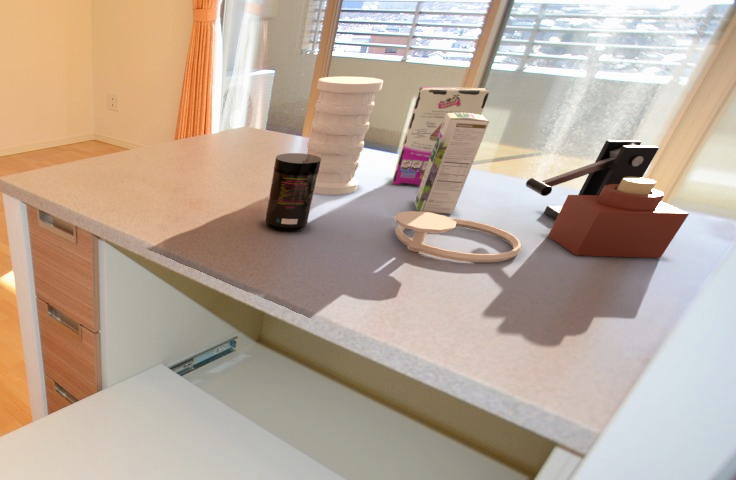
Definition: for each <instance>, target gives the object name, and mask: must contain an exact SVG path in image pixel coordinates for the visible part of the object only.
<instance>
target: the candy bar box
mask: <svg viewBox="0 0 736 480" xmlns="http://www.w3.org/2000/svg"><path fill="white" fill-rule="evenodd" d="M489 94H490V91H489V89H488V88H487V87H486V88H485V87H484V88H483V87H441V86H440V87H439V86H438V87H435V86H433V87H429V86H428V87H427V86H425V87H424V86H421V87H419V88H418V91H417V95H416V98H415V101H414V105H413V108H412V112H411V115H410V118H409V121H408V125H407V129H406V132H405V135H404V139H403V142H402V145H401V149H400V152H399V155H398V158H397V162H396V166H395V170H394V172H393V177H392V185H394V186H405V187H418V188H419V187H420V184H421V181H422V178H423V176H424V173H425V170H426V167H427V164H428V162H429V159H430V156H431V153H432V151H433V148H434V145H435V142H436V140H437V137H438V134H439V132H440V129H441V126H442V123H443V120H444V117H445V115H446V113H472V114H478V115H483V111H484V108H485V105H486V103H487V101H488V99H489V98H488V97H489Z"/></svg>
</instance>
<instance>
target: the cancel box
mask: <svg viewBox="0 0 736 480" xmlns="http://www.w3.org/2000/svg"><path fill="white" fill-rule="evenodd" d="M618 186H619V184H610V185H605V186H604V188H603V190H602V191H601V193H600V195H578V194H568V195H567V197H566V199H565V200H564V203H563V205H562V206H563V207H562V209H561V211H560V212H559V214H558V216H557V218H556V220H554V222H553V224H552V227H551V228H550V230H549V232H548V234H547V237H548V238H550V239H551V240H552V241H554V242H555V243H557V244H558V245H560V246H561V247H562V248H564V249H565V250H567V251H568V252H569V253H571V254H573V255H574V256H581V257H583V256H585V257H586V256H587V257H612V258H613V257H614V258H615V257H616V258H643V259H661V258H662V256H663V255H664V253H665V251H666V250H667V248H668V247H669V245H670V244H671V243H672V241H673V240H674V238H675V236H676V235H677V233H678V232H679V230H680V229H681V227H682V226H683V224H684V222H685V221H686V220H687V218H688V216H689V215H690V213H689V212H686V211H684V210H681V209H679V208H678V207H675V206H673V205H671V204H668V203H666V202H664V201H662V200H663V198H664V197H665V194H664V191H662V190H658V189H656V188H653V189H652V191H651V192H650V194H649V195H638V194H631V193H625V192H621V191H618V190H617V188H618Z"/></svg>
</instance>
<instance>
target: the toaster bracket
mask: <svg viewBox="0 0 736 480" xmlns="http://www.w3.org/2000/svg"><path fill="white" fill-rule="evenodd" d="M632 143H633V144H636V145H639V146H627V145H629V144H632ZM641 144H642V141H640V140H637V139H636V140H635V139H633V140H632V139H627V140H626V139H620V140H618V139H617V140H616V139H606V140H605V142H604V144H603V146H602V148H601V150H600V152H599V153H598V155H597V157H596V160H595V161H594V163H596V162H598V161H601V160H604V159H607V158H610V151H612V150H615V149H618V148H621V147H622V148H621V149H620V151H619V153H618V155H617V157H616V159H615V161H614V162H613V164H612V166H611V167H607V168H604V169H601V170H599V171H596V172H593V173H590V174H587V176H586V179H585V181H584V182H583V185H582V187H581V188H580V190H579V193H578V194H577V195H600V193H601V191H602V190H603V188H604V186H605V185H610V184H620V183H621V181H622V179H623V178H624V177H641V178H644V175H645V174H646V171H648V168H649V166H650V165H651V163H652V162H653V159H654V158H655V156H656V154H657V153H658V151H659V149H660V147H658V146H656V145H641ZM562 207H563V205H547V206H546V207H545V209H544V211H543V214H544V215H546V216H548V217H549V218H551V219H553V220H554V221H555V220H556V218H557V216H558V214H559V212H560V211H561V209H562Z"/></svg>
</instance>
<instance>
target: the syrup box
mask: <svg viewBox="0 0 736 480" xmlns="http://www.w3.org/2000/svg"><path fill="white" fill-rule="evenodd" d="M489 123H490V120H488V119H487V118H486V117H485V116H484V115H483V114H481V115H478V114H472V113H446V115H445V117H444V120H443V123H442V126H441V129H440V132H439V134H438V137H437V140H436V142H435V145H434V148H433V151H432V153H431V156H430V159H429V162H428V164H427V167H426V170H425V173H424V176H423V178H422V181H421V184H420V187H418V190H417V192H416V196H415V199H414V205H415V208H416V211H418V212H430V213H435V214H450V215H451V214H454V211H455V209H456V207H457V203H458V201H459V198H460V196H461V193H462V191H463V189H464V186H465V184H466V181H467V180H468V179H467V178H468V176H469V173H470V171H471V169H472V167H473V164H474V161H475V158H476V156H477V154H478V151H479V149H480V146H481V144H482V142H483V139H484V136H485V134H486V132H487V129H488V126H489Z"/></svg>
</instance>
